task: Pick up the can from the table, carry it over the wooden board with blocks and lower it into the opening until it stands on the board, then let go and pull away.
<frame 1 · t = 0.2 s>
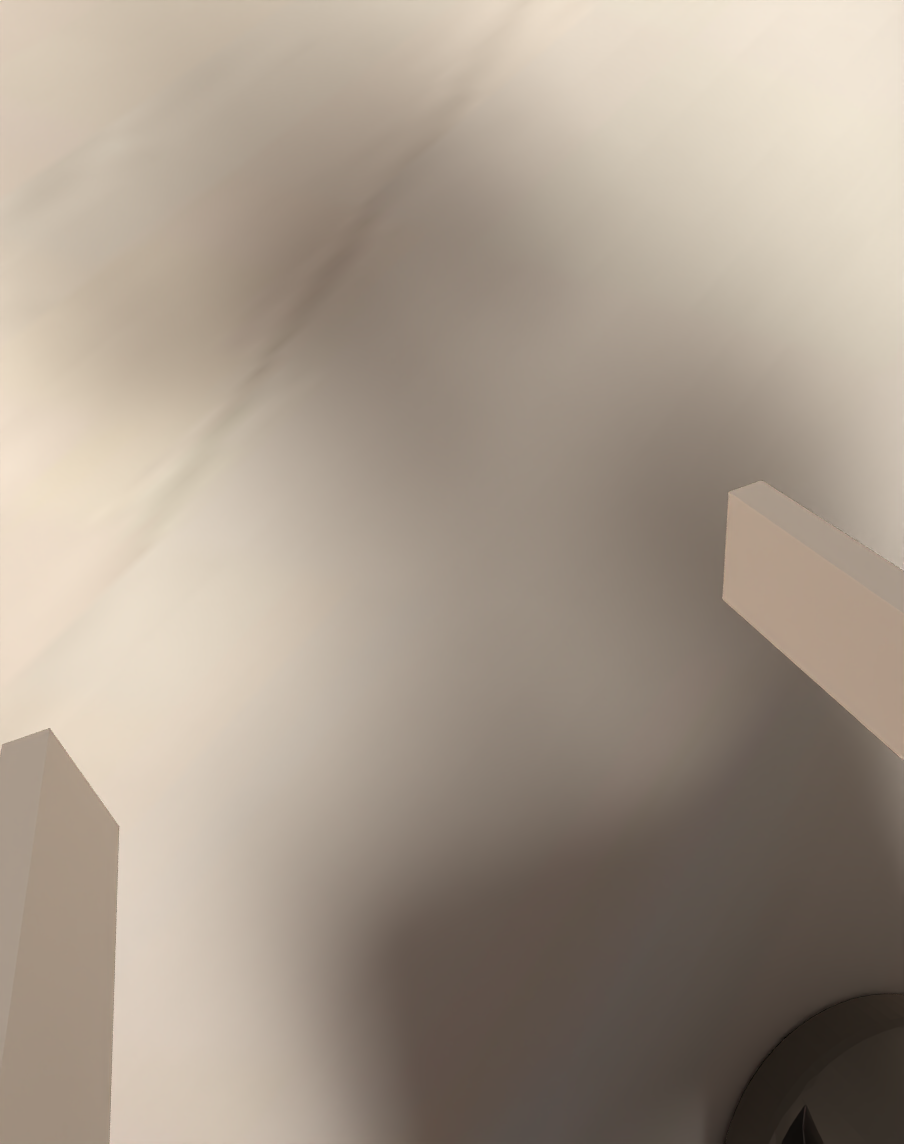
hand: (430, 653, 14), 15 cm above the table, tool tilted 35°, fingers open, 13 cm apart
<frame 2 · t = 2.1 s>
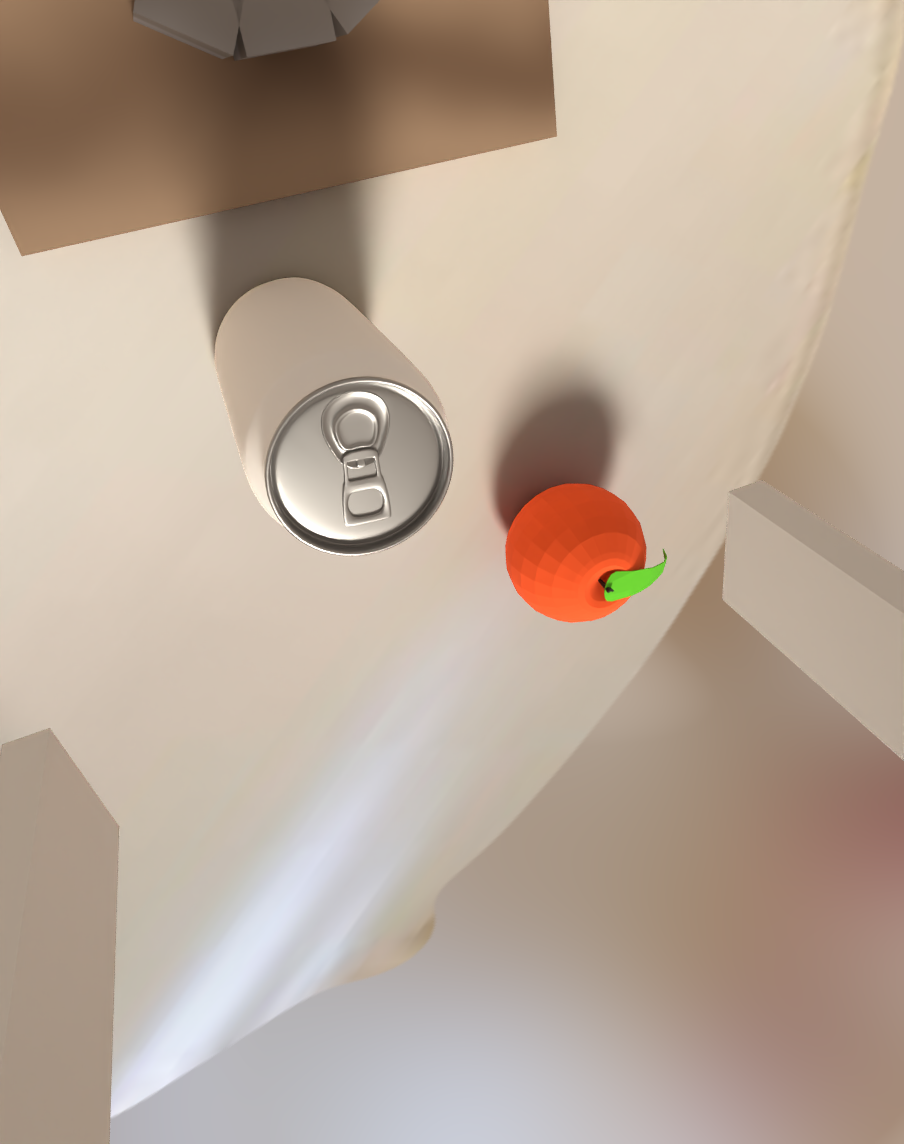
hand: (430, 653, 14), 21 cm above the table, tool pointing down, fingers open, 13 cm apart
clementine: (551, 518, 41), on the table
can: (293, 355, 32), on the table
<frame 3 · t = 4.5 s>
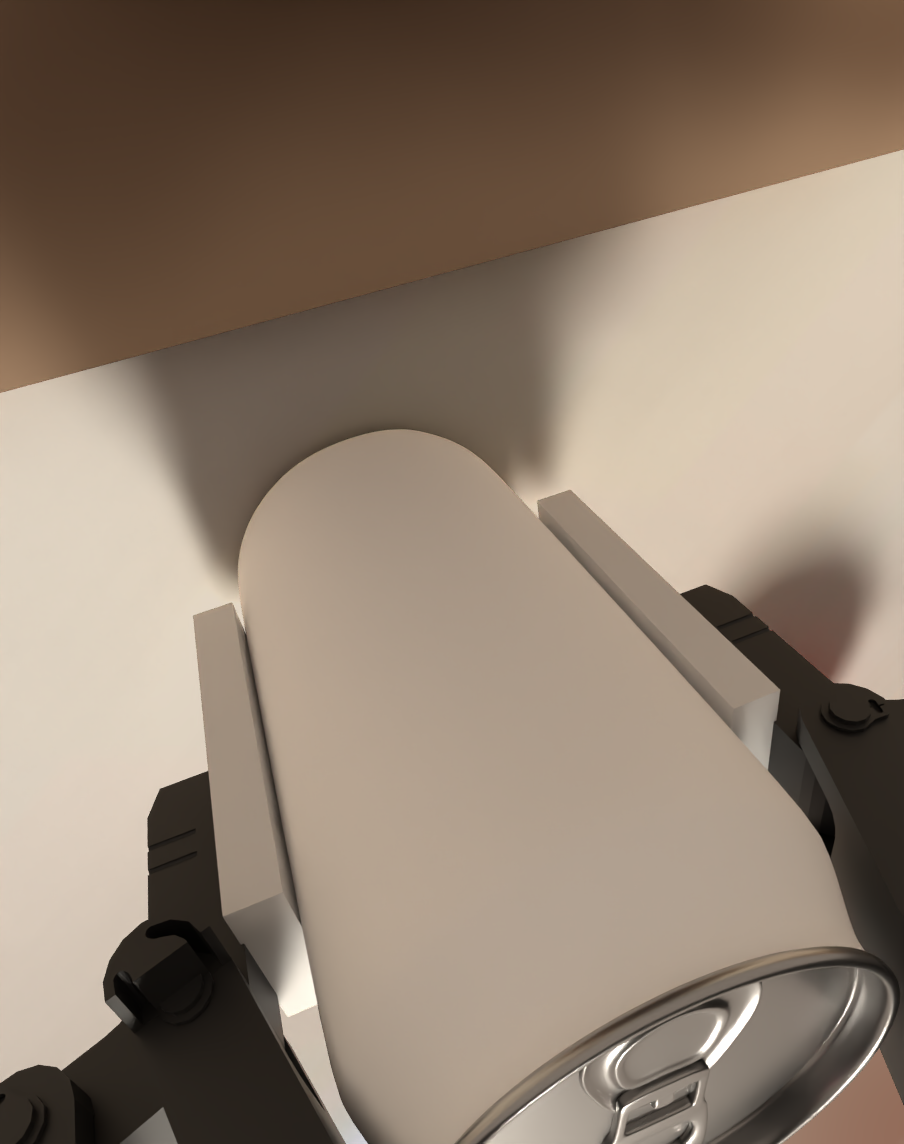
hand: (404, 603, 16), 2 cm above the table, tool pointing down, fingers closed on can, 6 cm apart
can: (377, 551, 17), on the table, touching gripper
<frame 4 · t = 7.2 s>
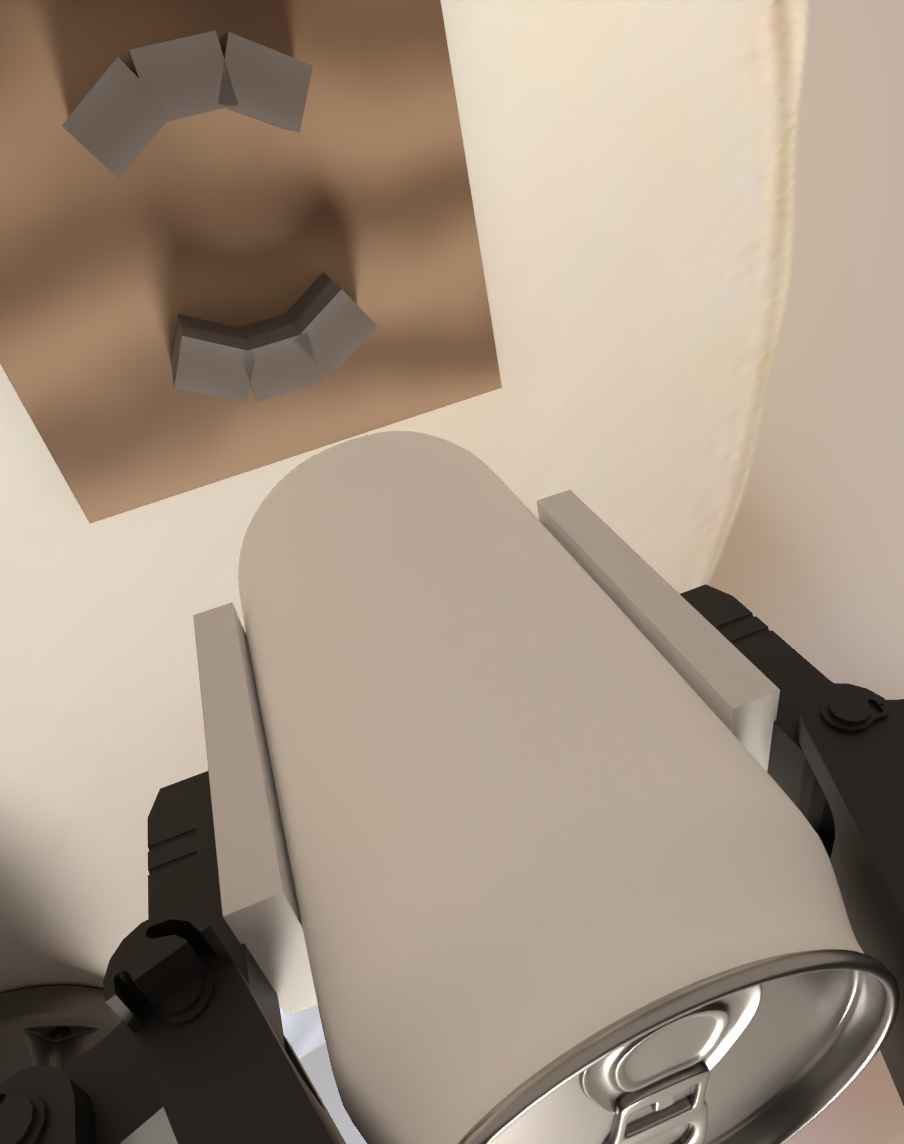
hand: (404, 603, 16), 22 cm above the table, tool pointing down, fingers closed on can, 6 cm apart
wooden board with blocks: (225, 220, 30), on the table
can: (378, 553, 17), point 20 cm above the table, touching gripper
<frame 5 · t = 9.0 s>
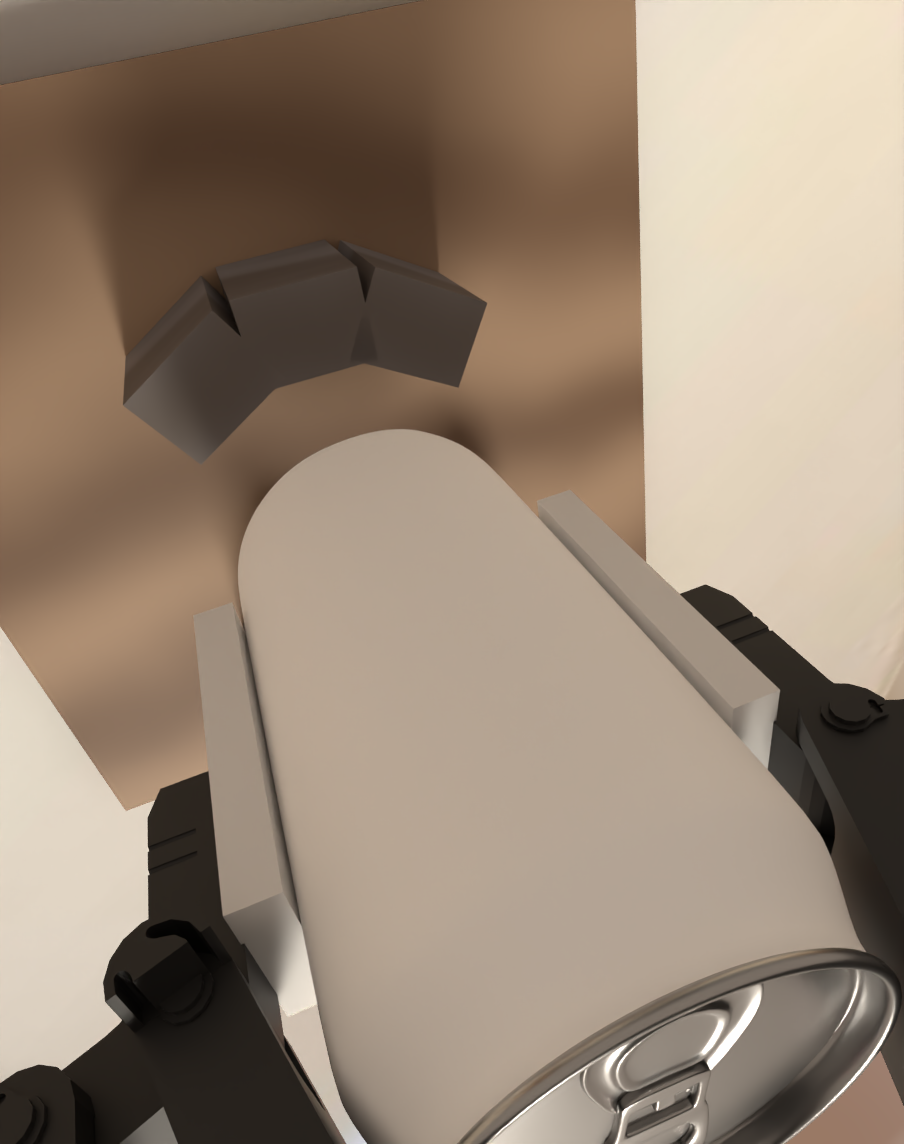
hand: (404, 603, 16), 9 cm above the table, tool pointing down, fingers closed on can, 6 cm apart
wooden board with blocks: (324, 448, 23), on the table
can: (378, 551, 17), point 6 cm above the table, touching gripper
when the fingers open (5 cm above the table, at t = 10.2 s): can drops 1 cm, resting on wooden board with blocks.
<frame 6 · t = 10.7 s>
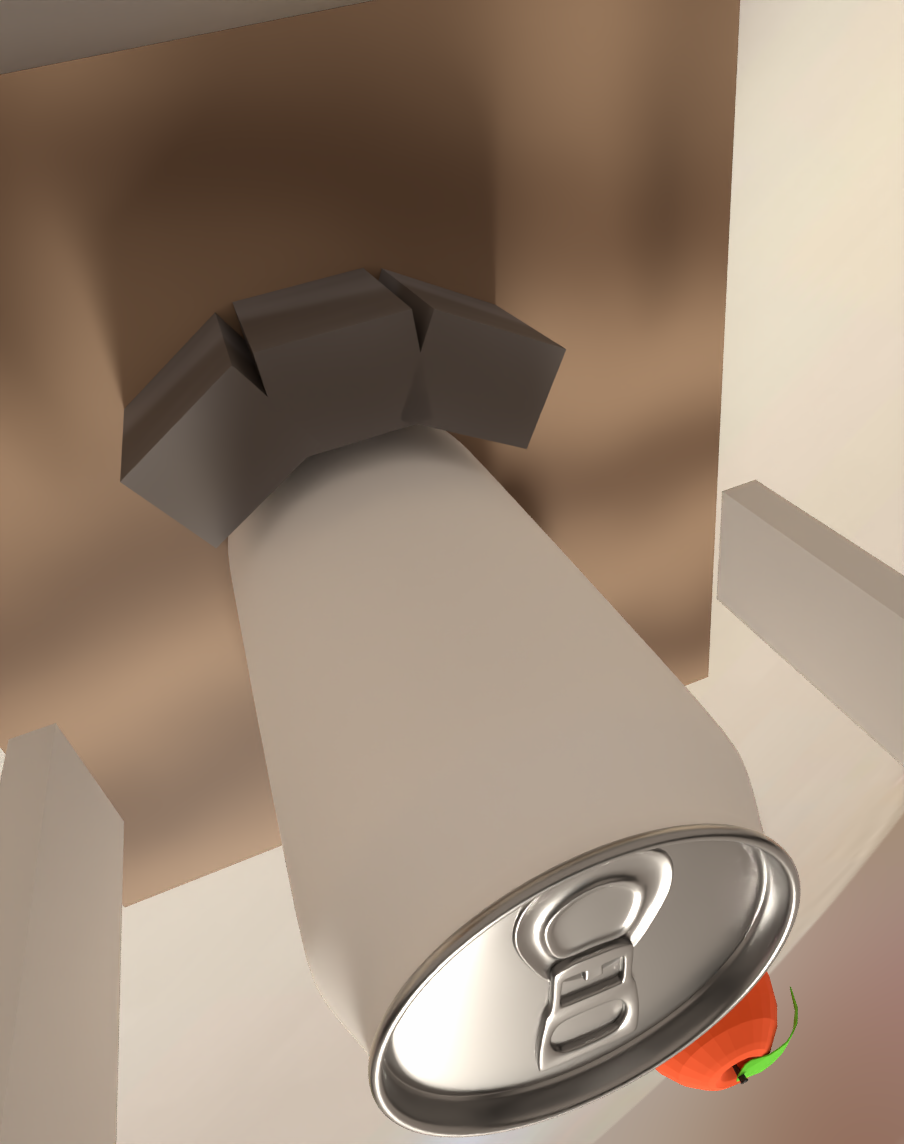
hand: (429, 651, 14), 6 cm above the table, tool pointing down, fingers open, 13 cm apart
clementine: (661, 923, 38), on the table
wooden board with blocks: (354, 504, 19), on the table
can: (360, 526, 19), point 1 cm above the table, touching wooden board with blocks
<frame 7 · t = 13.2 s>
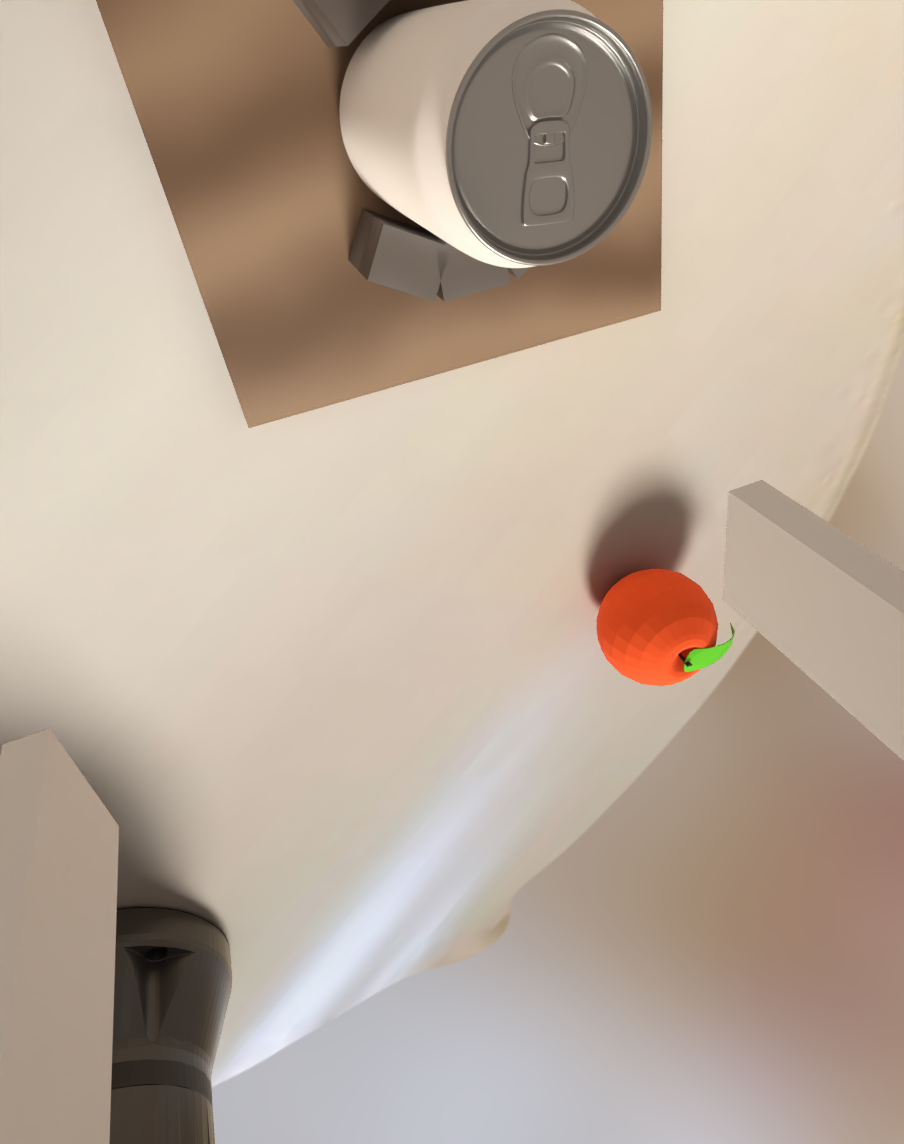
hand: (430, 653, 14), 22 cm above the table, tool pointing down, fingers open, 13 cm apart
clementine: (633, 590, 48), on the table
wooden board with blocks: (415, 112, 29), on the table
can: (420, 116, 28), point 1 cm above the table, touching wooden board with blocks
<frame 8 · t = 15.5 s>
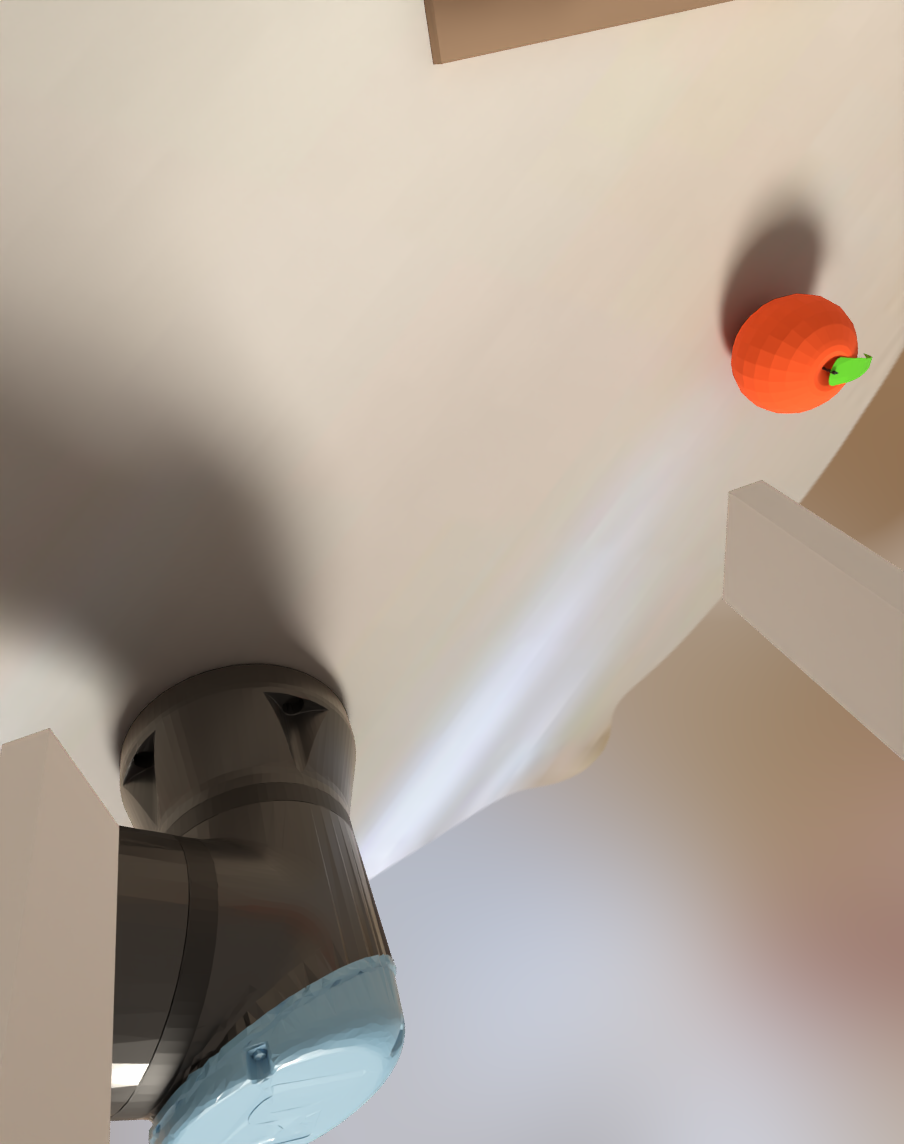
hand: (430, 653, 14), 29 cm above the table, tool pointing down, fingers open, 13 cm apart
clementine: (760, 337, 48), on the table
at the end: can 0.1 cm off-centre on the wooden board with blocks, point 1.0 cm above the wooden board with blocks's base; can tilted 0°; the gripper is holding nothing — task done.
